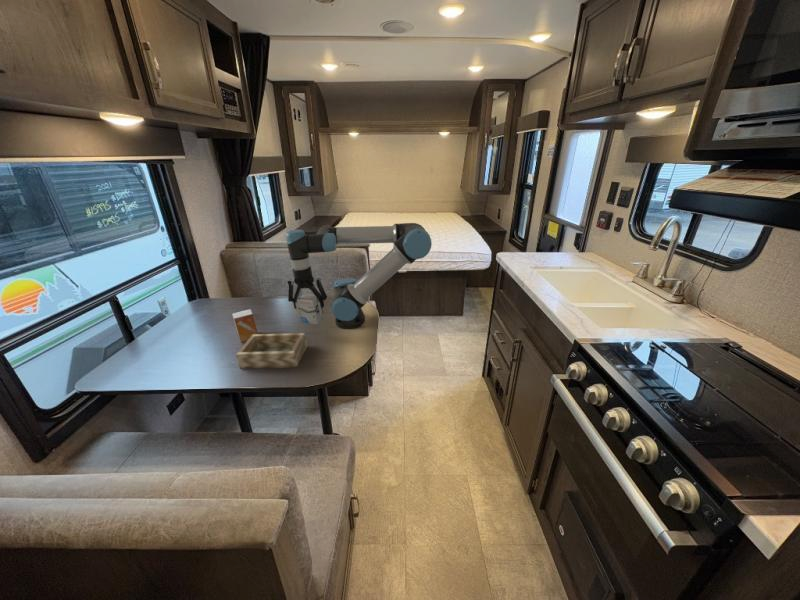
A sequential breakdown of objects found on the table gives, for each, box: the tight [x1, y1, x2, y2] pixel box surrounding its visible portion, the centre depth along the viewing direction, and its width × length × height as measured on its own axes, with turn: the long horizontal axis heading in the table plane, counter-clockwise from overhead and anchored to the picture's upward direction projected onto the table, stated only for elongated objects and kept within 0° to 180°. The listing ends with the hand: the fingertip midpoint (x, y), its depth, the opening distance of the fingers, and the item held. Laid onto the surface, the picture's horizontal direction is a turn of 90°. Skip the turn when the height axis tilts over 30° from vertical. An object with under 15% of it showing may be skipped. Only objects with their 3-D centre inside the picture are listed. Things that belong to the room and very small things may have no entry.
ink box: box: [297, 288, 323, 325], centre depth 137 cm, size 9×5×15 cm, turn 71°
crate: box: [235, 332, 308, 370], centre depth 130 cm, size 23×15×7 cm, turn 90°
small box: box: [231, 308, 259, 344], centre depth 144 cm, size 8×6×13 cm
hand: (310, 314), depth 139 cm, fingers closed on ink box, 9 cm apart
